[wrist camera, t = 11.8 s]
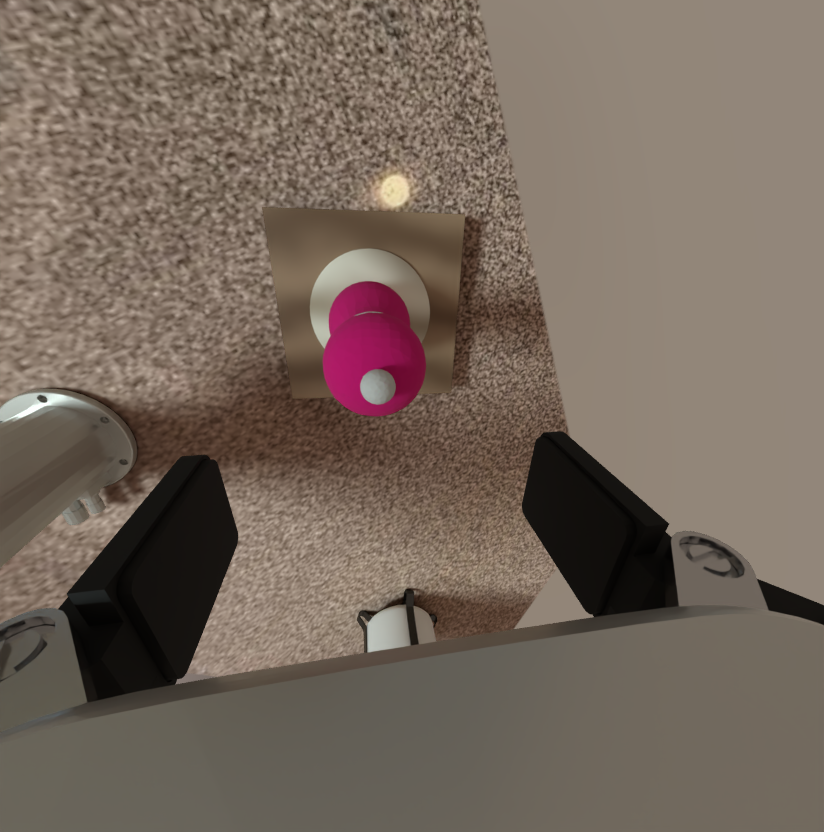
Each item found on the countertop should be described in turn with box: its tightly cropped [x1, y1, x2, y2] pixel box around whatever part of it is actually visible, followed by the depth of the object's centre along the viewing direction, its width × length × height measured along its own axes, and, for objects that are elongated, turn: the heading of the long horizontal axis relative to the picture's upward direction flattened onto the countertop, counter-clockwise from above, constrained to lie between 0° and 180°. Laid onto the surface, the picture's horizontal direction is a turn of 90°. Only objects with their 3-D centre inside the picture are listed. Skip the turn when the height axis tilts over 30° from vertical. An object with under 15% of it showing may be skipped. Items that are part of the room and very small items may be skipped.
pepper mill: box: [323, 281, 426, 416], centre depth 25 cm, size 7×7×20 cm
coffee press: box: [357, 590, 437, 653], centre depth 48 cm, size 17×16×30 cm
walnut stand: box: [262, 207, 465, 399], centre depth 35 cm, size 18×18×3 cm
